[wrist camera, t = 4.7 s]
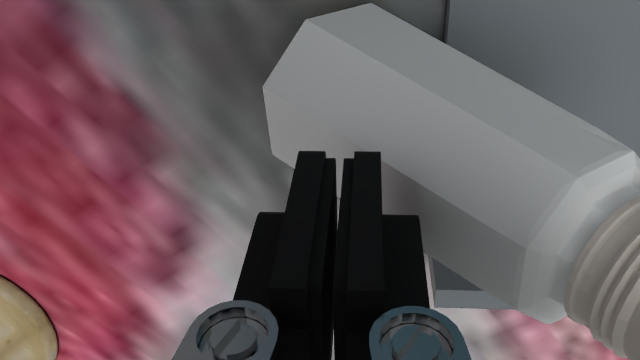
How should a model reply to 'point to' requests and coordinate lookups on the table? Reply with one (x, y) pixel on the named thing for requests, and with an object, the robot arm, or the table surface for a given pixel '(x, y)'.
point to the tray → (550, 77)
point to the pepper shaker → (471, 166)
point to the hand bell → (24, 327)
